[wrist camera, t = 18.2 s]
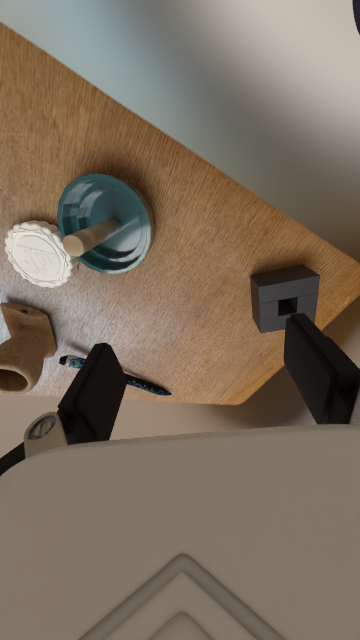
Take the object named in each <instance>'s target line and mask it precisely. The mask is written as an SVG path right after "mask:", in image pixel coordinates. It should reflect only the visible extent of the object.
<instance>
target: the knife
mask: <svg viewBox="0 0 360 640" xmlns="http://www.w3.org/2000/svg"><path fill="white" fill-rule="evenodd" d="M85 360H86V359H83V358H80V357H77V356H74V355H67V356H63V357H61V358H60V361H59V364H62V365H65V366H69V367H73V368H78V369H80V368H81V367H82V365H83V363H84V362H85ZM124 374H125V373H124ZM125 376H126V378H127V384H129V385H132V386H135V387H138V388H141V389H143V390H146V391H149V392H152V393H154V394H158V395H172V393H171V392H169V391H168V390H166V389H164V388H162V387H160V386H157V385H155V384H153V383H150V382H148V381H145V380H143V379H140V378H137V377H134V376H131V375H128V374H125Z"/></svg>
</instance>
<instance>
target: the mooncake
mask: <svg viewBox="0 0 360 640" xmlns="http://www.w3.org/2000/svg"><path fill="white" fill-rule="evenodd" d="M5 243H6V247H5V251H6V253H7V254H8V260H9V261H10V262H11V263H12V264H13V267H14V269H15V270H16V271H17V272H20V274H21V276H22V277H23V278H25V279H28V280H29V281H30V282H31V283H33V284H38V285H39V286H41V287H46V286H47V287H49V288H54V287H55V286H62V285H63V284H64V283H65V282H67V281H69V280H70V279H71V278H73V277H74V273H75V272H77V270H78V267H77V265H78V263H79V260H78V259H77V258H76V257H75V256H71V255H69V254H68V253H67V252H66V251H65V249H64V247H63V237H62V235H61V233H60V230H59V228H58V227H57V226H55V225H50V224H49V223H47V222H45V221H41V222H39V221H36V220H32V221H27V222H23V223H20V224H16V225H14V227H13V229H10V230H9V231H8V237H6V238H5Z"/></svg>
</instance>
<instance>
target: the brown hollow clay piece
mask: <svg viewBox="0 0 360 640" xmlns="http://www.w3.org/2000/svg"><path fill="white" fill-rule="evenodd" d="M0 307H1V310H2V313H3V316H4V319H5V322H6V324H7V327H8V330H9V333H10V335H11V338H10V339H9V340H7V341H5V342H4V343H2V344H1V345H0V393H4V394H14V395H16V394H23V393H26V392H28V391H30V390H31V389H32V388H33V387H34V386H35V385H36V384H37V382H38V380H39V378H40V376H41V373H42V369H43V362H44V358H48V357H52V356H54V355H55V352H56V345H55V340H54V336H53V332H52V329H51V326H50V322H49V319H48V316H47V315H46V314H44V313H42V312H41V311H39V310H36V309H34V308H32V307H27V306H24V305H21V304H15V303H1V304H0Z"/></svg>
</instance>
